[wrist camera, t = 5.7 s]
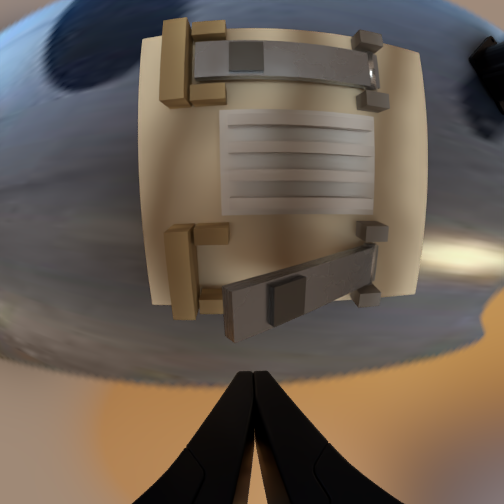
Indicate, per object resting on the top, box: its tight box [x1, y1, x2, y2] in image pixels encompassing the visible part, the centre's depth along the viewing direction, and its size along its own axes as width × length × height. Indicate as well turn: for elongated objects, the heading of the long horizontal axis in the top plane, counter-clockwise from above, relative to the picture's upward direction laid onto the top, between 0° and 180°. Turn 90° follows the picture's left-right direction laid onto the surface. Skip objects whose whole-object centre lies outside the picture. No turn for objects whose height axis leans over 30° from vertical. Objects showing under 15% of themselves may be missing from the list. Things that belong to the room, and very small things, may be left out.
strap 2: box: [222, 242, 379, 343], centre depth 16 cm, size 12×3×1 cm
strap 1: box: [194, 40, 380, 92], centre depth 15 cm, size 12×3×1 cm, turn 91°
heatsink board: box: [138, 17, 428, 320], centre depth 17 cm, size 20×19×4 cm
